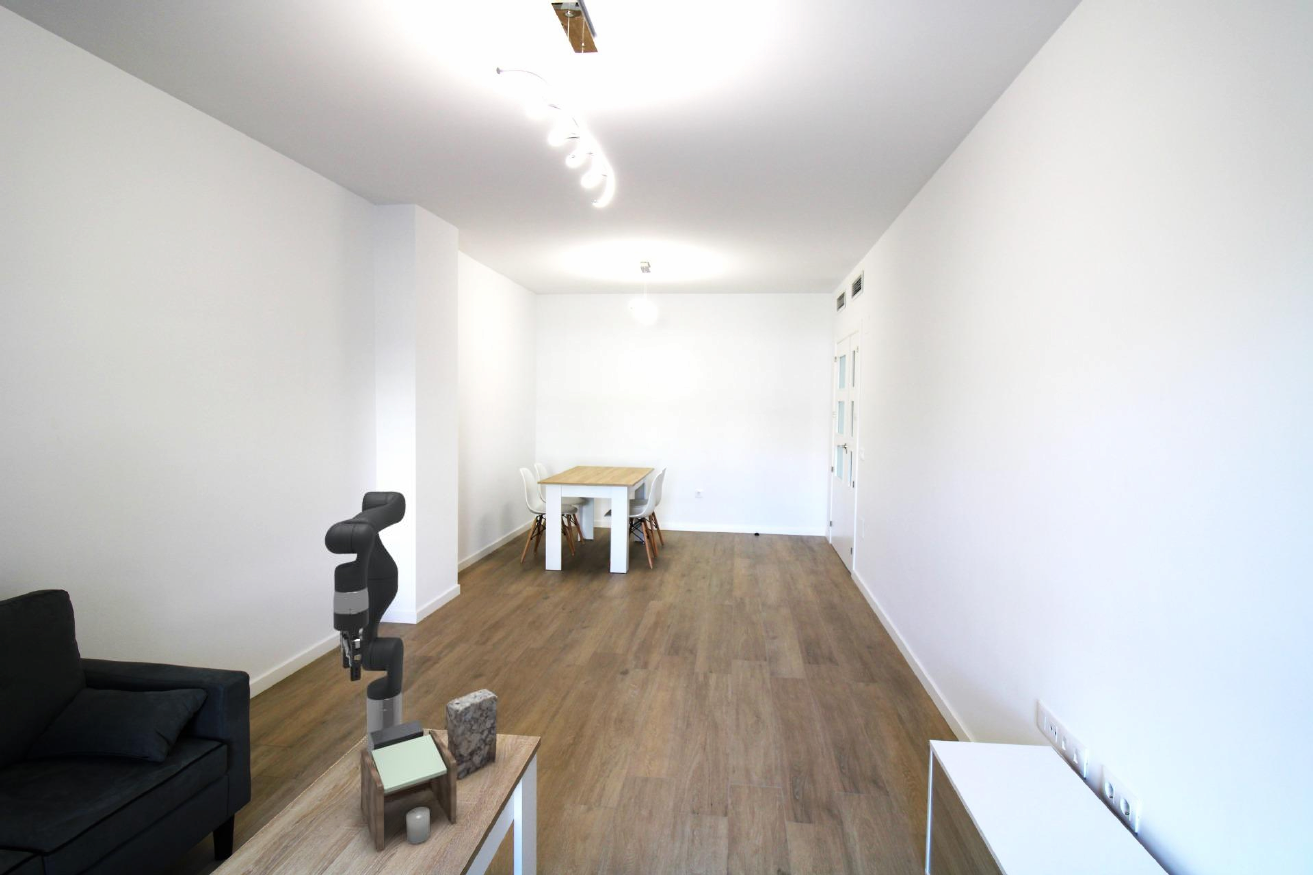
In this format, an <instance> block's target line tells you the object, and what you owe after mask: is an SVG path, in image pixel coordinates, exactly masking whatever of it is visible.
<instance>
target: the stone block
mask: <svg viewBox="0 0 1313 875" xmlns="http://www.w3.org/2000/svg"><path fill="white" fill-rule="evenodd" d="M498 701H499V696H497V695H496V694H495V693H493V692H492V691H490V690H488V689H487V688H483V689H480V690H477V691H473V692H471V693H468V694H465V695H463V696H461V697H457V698H455V699H452V700H450V701H449V702H448V703H447V704H446V705H445V721H446V735H447V747H446V748H447V749H448V750H449V752H450V753H451V755H452V756H453V757H454V759H455V760H456V762H457V780H462V779H464V778H466V777H468V776H470V775H472V774H474V773H476V772H478V771H479V770H482V769H483V768H485V767H487V766H488V765H490V764H493V763H495V762H496V756H497V736H498V735H497V734H498V733H497V731H498V728H497V727H498V726H497V723H498V716H497V715H498Z"/></svg>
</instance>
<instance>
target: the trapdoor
mask: <svg viewBox="0 0 1313 875" xmlns="http://www.w3.org/2000/svg"><path fill="white" fill-rule="evenodd" d="M424 731H425V730H424V728H423V726H422V724H421V723H420V720H419V719H415V720H412V721H408V722H403V723H402V724H400V725H396V726H393V727H389V728H385V729H381V730H378V731H374V732H370V738H369V744H370V747H371V749H372V751H371V755H372V758H373V759H372V762H373V764H374V766H375V768H376V770H377V772H378V774H379V776H380V778H381V780H382V783H383V785H384V793H387V792H390V791H394V790H397V789H400V788H403V787H406V786H409V785H412V784H415V783H418V782H421V781H424V780H427V779H430V778H434V777H437V776H440V775H443V774H446V773H447V769H446V767H445V765H444V763H443V761H442V758H441V756H440V754H439V752H438V750H437V748H436V746H435V744H434V742H433V740H432V738H431V736H430V735H429V734H427V735H424V733H425V732H424Z"/></svg>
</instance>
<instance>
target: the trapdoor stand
mask: <svg viewBox="0 0 1313 875" xmlns="http://www.w3.org/2000/svg"><path fill="white" fill-rule="evenodd" d="M428 735H430V736H431V738H432V740H433V742H434V744H435V746H436V748H437V750H438V752H439V754H440V756H441V758H442V761H443V763H444V765H445V767H446V769H447V773H446V774H443V775H440V776H437V777H434V778H430V779H427V780H424V781H421V782H418V783H415V784H412V785H409V786H406V787H403V788H400V789H397V790H394V791H390V792H387V793H384V785H383V783H382V780H381V778H380V776H379V774H378V772H377V770H376V767H375V764H374V761H373V759H371V757H370V755H369V753H368V751H367V747H365V748H362V749H360V810H361V813H362V814H363V817H364V820H365V822H366V825H367V827H368V830H369V832H370V835H371V838H372V840H373V843H374V845H375V848H376V850H377V853H380V852H382V851H384V850H385V849H384V848H385V843H384V841H385V836H384V835H385V830H384V829H385V825H384V820H385V819H384V817H385V816H384V815H385V812H384V810H385V809H384V808H385V806H384V805H385V804H389V803H391V802H394V801H397V800H400V799H403V798H406V797H409V796H413V795H416V794H418V793H421V792H424V791H427V790H429V789H430V791H431V793H432V795H433V796H434V798H435V799H436V801H437V802H438V805H439V806H440V808H441V810H442V811H443V813H444V814H445V816H446V818H447V819H448V822H449V823H450V825H455V824H457V791H458V790H457V785H458V784H457V782H458V781H457V762H456V760H455V759H454V757H453V756H452V755H451V753H450V752H449V750H448V749H447V748H448V747H447V746H446V744H445V743H444V742H443V740H442V739H441V737H440V736H439V734H438V733H437V732H436V730H435V729H429V730H428Z"/></svg>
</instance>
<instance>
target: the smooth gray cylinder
mask: <svg viewBox="0 0 1313 875" xmlns="http://www.w3.org/2000/svg"><path fill="white" fill-rule="evenodd" d="M430 815H431V814H430V809H429V807H426V806H418V807H415V808H413V809H411V810H409V811H408V812H407V813H406V816H405V817H406V841H407V843H408V844H411V845H418V844H422V843H424V842H426V841H428V839H429V838H430V836H431V823H430V822H431V819H430V818H431V817H430Z"/></svg>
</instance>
